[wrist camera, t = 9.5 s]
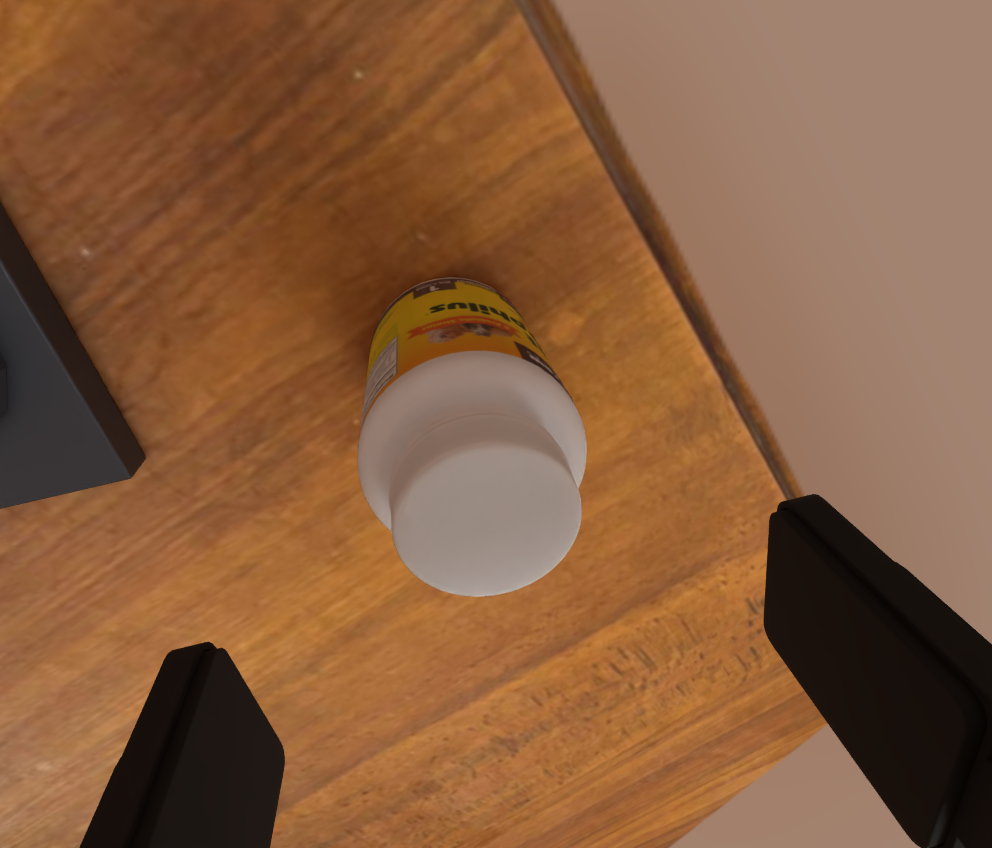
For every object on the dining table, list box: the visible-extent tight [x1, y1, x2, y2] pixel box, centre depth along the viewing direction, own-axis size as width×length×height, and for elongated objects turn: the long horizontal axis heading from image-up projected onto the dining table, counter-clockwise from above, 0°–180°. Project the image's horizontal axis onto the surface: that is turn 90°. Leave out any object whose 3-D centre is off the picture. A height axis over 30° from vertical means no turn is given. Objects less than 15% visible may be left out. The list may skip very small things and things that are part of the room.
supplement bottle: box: [358, 277, 587, 597], centre depth 16 cm, size 6×6×10 cm
